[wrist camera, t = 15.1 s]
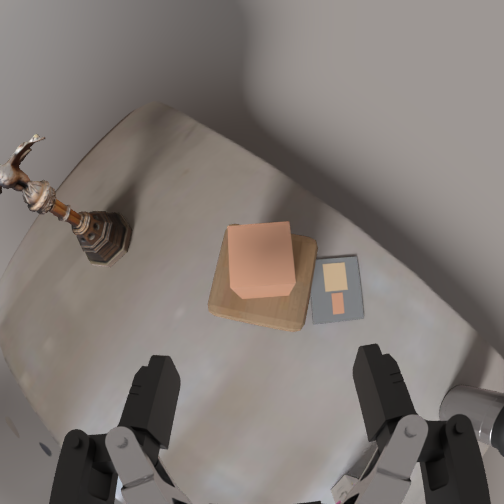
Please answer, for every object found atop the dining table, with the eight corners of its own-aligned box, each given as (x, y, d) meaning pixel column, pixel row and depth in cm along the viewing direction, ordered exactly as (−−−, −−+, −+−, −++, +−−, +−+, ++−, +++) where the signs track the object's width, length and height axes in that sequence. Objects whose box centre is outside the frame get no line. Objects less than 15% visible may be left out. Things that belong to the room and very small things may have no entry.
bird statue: (69, 230, 53) (-42, 158, 19) (106, 191, 54) (8, 93, 21) (97, 284, 49) (-48, 228, 15) (140, 241, 50) (10, 139, 17)
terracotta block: (284, 250, 27) (289, 221, 20) (288, 295, 26) (295, 282, 18) (239, 254, 28) (227, 226, 20) (242, 299, 26) (230, 287, 19)
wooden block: (300, 273, 47) (320, 235, 28) (289, 330, 44) (303, 334, 25) (244, 262, 48) (226, 218, 29) (231, 318, 46) (203, 312, 26)
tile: (355, 257, 47) (356, 256, 46) (362, 318, 44) (364, 318, 43) (307, 261, 47) (307, 260, 46) (313, 324, 44) (313, 324, 44)
